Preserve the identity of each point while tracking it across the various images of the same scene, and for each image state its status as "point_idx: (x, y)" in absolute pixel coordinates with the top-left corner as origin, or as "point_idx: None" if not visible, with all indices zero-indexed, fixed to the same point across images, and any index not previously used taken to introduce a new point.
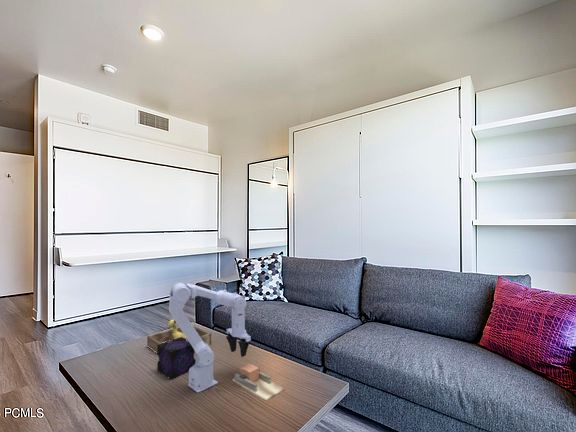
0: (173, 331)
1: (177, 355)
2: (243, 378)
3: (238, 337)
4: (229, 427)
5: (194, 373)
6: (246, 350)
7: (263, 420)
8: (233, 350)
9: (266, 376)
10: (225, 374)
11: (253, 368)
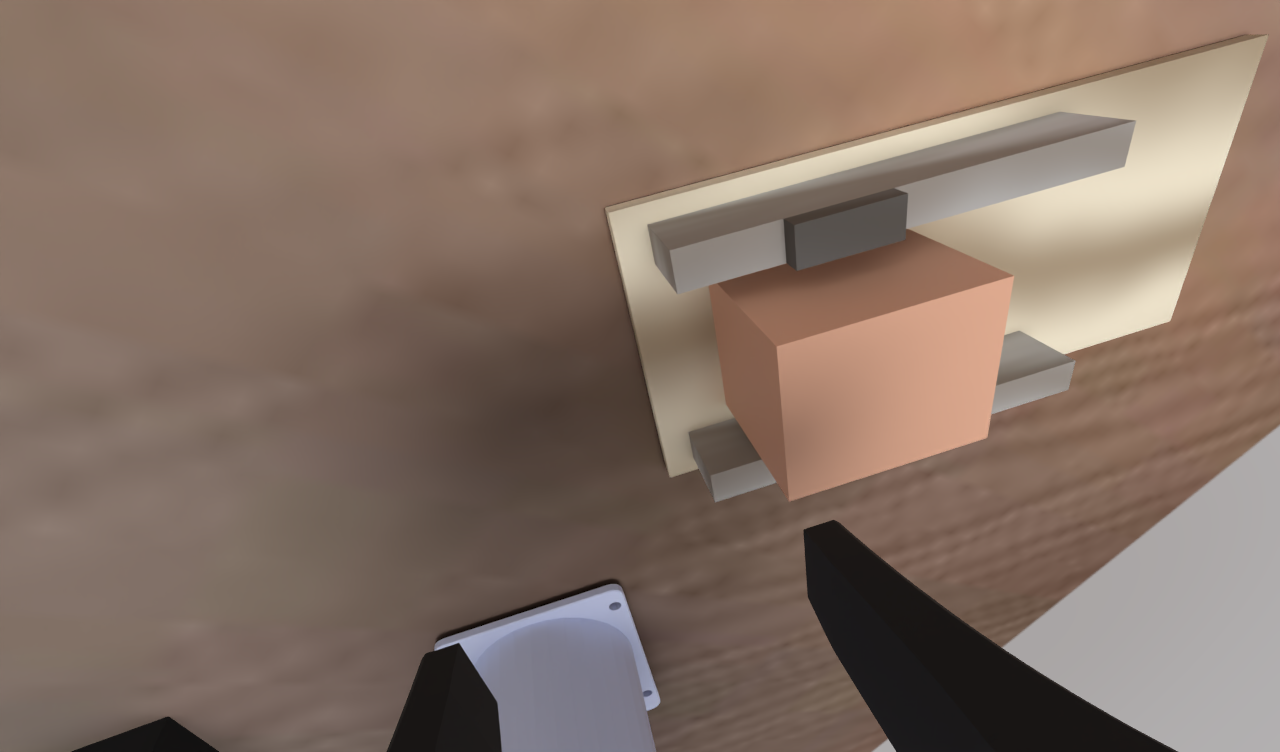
0: None
1: None
2: None
3: None
4: (1085, 580)
5: None
6: (925, 605)
7: (1235, 419)
8: (486, 711)
9: (1073, 178)
10: (473, 492)
11: (957, 355)
